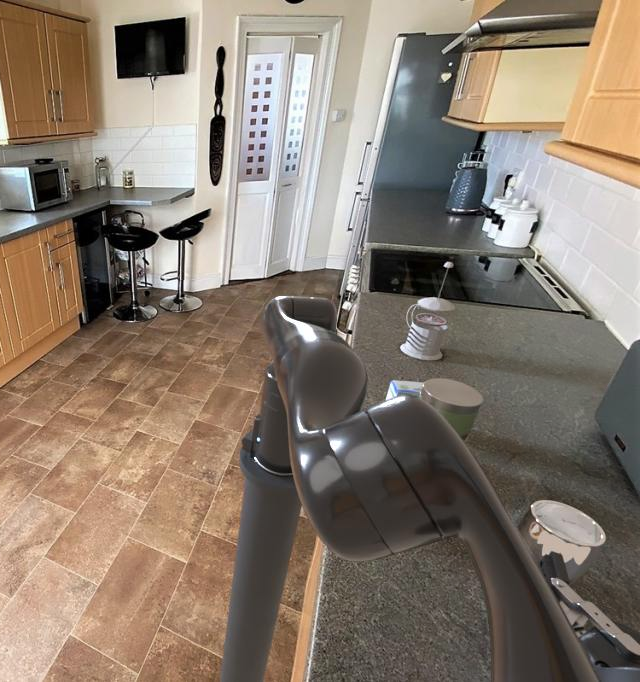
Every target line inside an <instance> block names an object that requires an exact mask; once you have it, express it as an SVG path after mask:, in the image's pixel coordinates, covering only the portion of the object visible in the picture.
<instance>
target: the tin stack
mask: <svg viewBox="0 0 640 682" xmlns="http://www.w3.org/2000/svg"><path fill="white" fill-rule="evenodd" d="M423 383H424V384H423V387H422V390H421V392H420V395H419V397H420V398H422V399H424V400H425V401H427V402H428V403H430V404H431V405H432V406H433V407H434V408H436V409H437V410H438V411H439V412H440V413H441V414H442V415H443V416H444V417H445V418H446V419H447V420H448V421H449V423H450V424H451V425H452V426H453V428H454V429H455V430H456V431H457V433H458V434H459V435H460V436H461V438H462V439H463V440H464V442H465V443H466V442H467V441H468V438H469V434H470V433H471V431H472V428H473V426H474V423H475V422H476V419H477V418H478V414H479V412H480V410H481V406H482V404H483V401H484V397H483V396H482V394H481V393H480V392H479V391H478V390H477V389H476V388H474V387H472V386H470V385H468V384H467V383H464V382H461V381H457V380H454V379H450V378H440V377H437V378H430V379H427V380H425V381H424V382H423Z"/></svg>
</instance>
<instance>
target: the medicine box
mask: <svg viewBox="0 0 640 682" xmlns="http://www.w3.org/2000/svg"><path fill="white" fill-rule="evenodd" d="M423 384H424V382H420V381H406V380H396V379H395V380H394V379H393V380H391V382H390V384H389V387H388V390H387V395H386V398H385V401H386V400H388V399H391V398H394V397H396V396H399V395H404V394H411V395H416V396H418V397H419V395H420V392H421V390H422V387H423Z"/></svg>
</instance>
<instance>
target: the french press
mask: <svg viewBox="0 0 640 682" xmlns="http://www.w3.org/2000/svg"><path fill="white" fill-rule="evenodd" d="M443 267H445V268H447V269H446V271H445V275H444V278H443V281H442V285H441V287H440V290H439V293H438V296H437V297H435V296H433V297H431V296H430V297H424V298H421V299H418V300H417V303H415V304H412V305H410V307H409V308H408V310H407V312H406V316H405V317H406V323H407V326H408V328H410V329H409V332H408V335H407V338H406V341H405V343H402V344H401V345H400V347H399V348H400V350H401V352H403V353H404V354H405V355H407V356H408V357H411V358H415V359H418V360H423V361H438V360H440V359H442V357H443V356H444V355H443V353H442V352H441V350H440V349H441V347H442V345H443V343H444V342H443V341H444V339H445V335H446V333H447V330H448V323H449V322H448V319H447V318H445V317H443V316H440V315H437V314H435V313H450V312H453V311H454V310H455V309H456V307H455V305H454V304H453V303H451V302H450V301H449V300H447V299H444V298H440V296H441V292H442V290H443V287H444V284H445V281H446V278H447V274H448V272H449V269H451V268H454V263H453V262H451V261H446V262H445V263H444V265H443ZM413 307H414V308H413ZM420 307H421V308H420ZM412 308H413V309H412ZM416 308H417V309H418V310H423V309H425V310H428V311H431V312H432V313H426V312H425V313H424V312H423V313H418V314H416V315H415V316H414V312H415V309H416ZM411 309H412V312H411V325H410V324H409V322H408V317H409V311H410V310H411ZM413 316H414V317H415V318H413ZM416 322H417V324H416ZM434 329H435V330H434Z"/></svg>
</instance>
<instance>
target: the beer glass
mask: <svg viewBox="0 0 640 682" xmlns="http://www.w3.org/2000/svg"><path fill="white" fill-rule="evenodd" d="M516 527H517V528H518V530H519V532H520V534H521V535H522V537H523V539H524V541H525V542H526V544H527V546H528V548H529V550H530V551H531V553H532V555H533V557H534V558H535V560H536V562H537V564H538V565H539V563H540V561H541V560H542V558H543V557H544V555H545V554H547V555H549V554H550V552H551V551H554V552H556V553H559V554H562V556H563V559H564V563H565V566H566V570H567V574H568V577H569V581H570V583H569V585H568V586H569V587H571V585H573V584H574V583H575V582H577V581H578V580H579V579H581V577H583V576H584V575H585V574H586V572H587V571H588V570H589V569H590V568H591V566H592V565H593V563H594V562H595V560H596V559H597V556H598V555H599V553H600V551H601V548H602V546H603V545H604V544H605V543H606V540H607V539H606V538H607V537H606V533H605V531H604V530H603V528H602V527H601V526H600V525H599V523H598V522H597V521H595V520H594V519H593V518H592V517H590V516H589V515H588V514H586V513H584V512H583V511H581V510H579V509H578V508H575V507H573V506H571V505H568V504H566V503H562V502H559V501H556V500H550V499H540V500H536V501H535V502H534V501H533V503H532V504H531V505H530V507H529V509H528V510H527V511H526V513H525V514H524V515H523V516H522V518H521V519H520V521H519V522H518V524H517V525H516Z"/></svg>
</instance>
